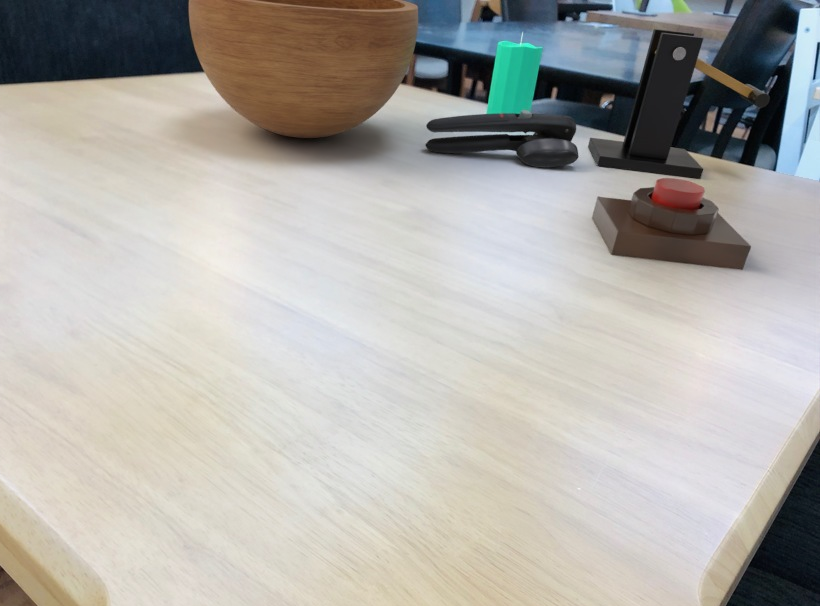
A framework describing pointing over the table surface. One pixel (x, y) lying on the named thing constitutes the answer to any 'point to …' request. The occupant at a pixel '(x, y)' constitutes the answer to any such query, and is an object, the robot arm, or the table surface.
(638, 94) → the bracket
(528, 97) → the candle
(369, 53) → the bowl
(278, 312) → the table surface
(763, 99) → the lever
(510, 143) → the can opener
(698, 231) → the button block
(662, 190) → the button
